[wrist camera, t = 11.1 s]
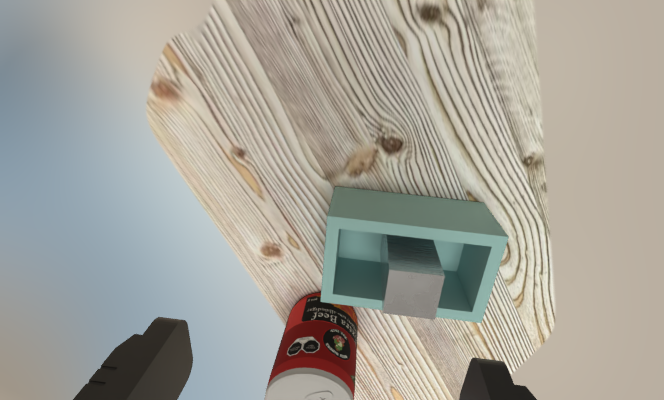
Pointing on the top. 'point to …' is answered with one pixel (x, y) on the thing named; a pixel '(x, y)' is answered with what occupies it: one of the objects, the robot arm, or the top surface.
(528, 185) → the top surface
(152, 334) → the robot arm
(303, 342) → the canned food
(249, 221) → the top surface
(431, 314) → the grey upright brick
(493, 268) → the box
